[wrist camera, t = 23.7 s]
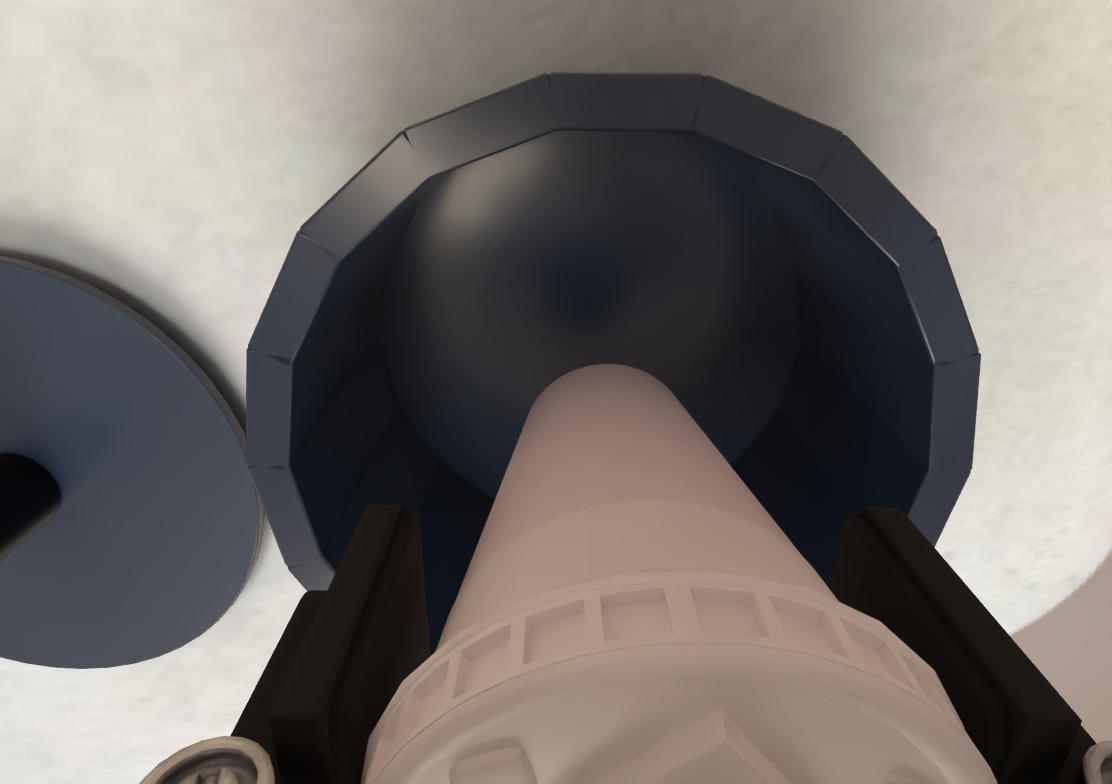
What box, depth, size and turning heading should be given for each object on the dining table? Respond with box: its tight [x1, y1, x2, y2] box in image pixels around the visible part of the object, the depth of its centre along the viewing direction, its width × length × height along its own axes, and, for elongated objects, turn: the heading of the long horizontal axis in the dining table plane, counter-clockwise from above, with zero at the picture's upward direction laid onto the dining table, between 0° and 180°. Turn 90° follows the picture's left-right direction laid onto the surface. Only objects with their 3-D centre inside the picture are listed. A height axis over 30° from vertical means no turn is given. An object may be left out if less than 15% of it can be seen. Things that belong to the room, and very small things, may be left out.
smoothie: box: [361, 364, 998, 784], centre depth 9 cm, size 6×6×14 cm
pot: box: [246, 72, 981, 656], centre depth 18 cm, size 15×15×8 cm
